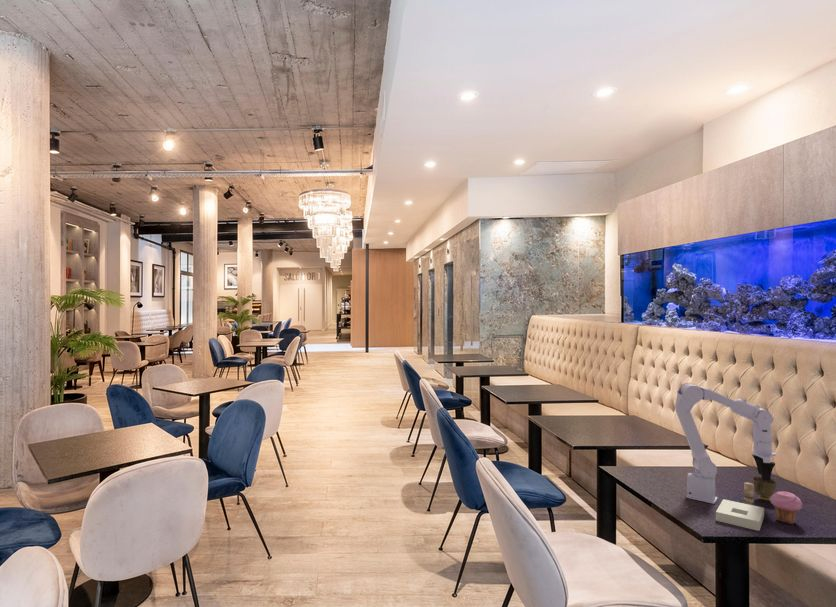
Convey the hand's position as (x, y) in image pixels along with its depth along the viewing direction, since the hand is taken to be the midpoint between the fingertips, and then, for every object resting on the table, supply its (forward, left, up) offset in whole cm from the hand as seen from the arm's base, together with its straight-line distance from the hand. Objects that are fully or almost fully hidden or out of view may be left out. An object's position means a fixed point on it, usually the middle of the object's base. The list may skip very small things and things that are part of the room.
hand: (764, 477), depth 190 cm
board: (-5, -21, -10) cm, 24 cm away
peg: (-4, -4, -10) cm, 12 cm away
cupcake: (+7, -13, -11) cm, 18 cm away
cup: (0, +7, -11) cm, 12 cm away
